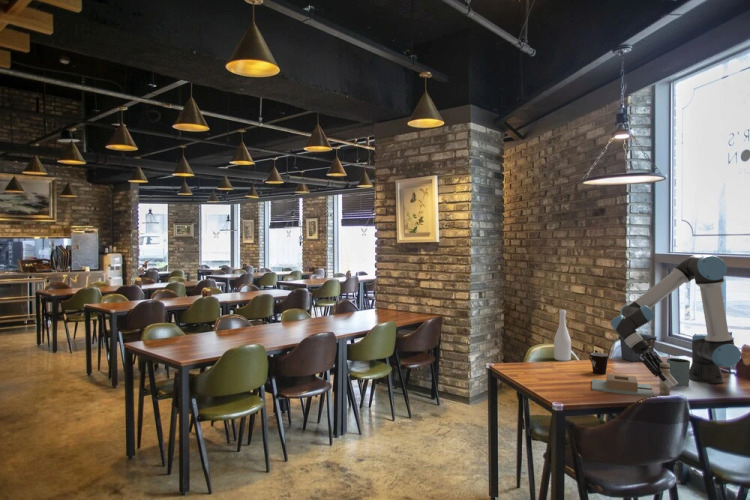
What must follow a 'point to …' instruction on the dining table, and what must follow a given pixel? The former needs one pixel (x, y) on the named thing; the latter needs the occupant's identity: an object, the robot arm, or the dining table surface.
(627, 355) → the storage bin
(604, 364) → the coffee mug
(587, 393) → the dining table surface
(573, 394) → the dining table surface
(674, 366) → the grey-green tapered pot
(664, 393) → the round peg
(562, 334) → the wine bottle
